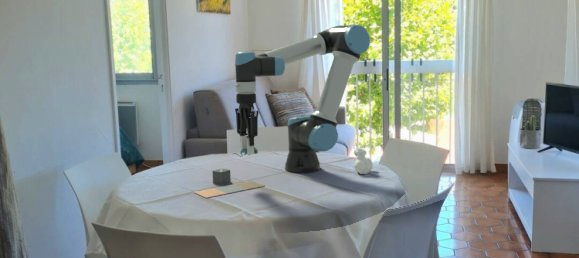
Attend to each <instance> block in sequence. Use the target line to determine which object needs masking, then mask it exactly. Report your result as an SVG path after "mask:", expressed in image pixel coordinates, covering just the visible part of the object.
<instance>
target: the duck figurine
mask: <svg viewBox="0 0 579 258" xmlns="http://www.w3.org/2000/svg"><path fill="white" fill-rule="evenodd" d="M353 153H354V154H353V155H355V157H357V158H356V160H355V161H354V171H355V172H357V173H359V174H360V175H367V174H369V173H371V172H372V169H373V162H372V159H371V158H370V157H366V155H367V151H366V150H365V148H361V147H360V148H355V149H354V151H353Z"/></svg>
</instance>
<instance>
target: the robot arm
mask: <svg viewBox="0 0 579 258" xmlns="http://www.w3.org/2000/svg"><path fill="white" fill-rule="evenodd" d="M370 45H371V37H370V34H369V32H368V30H367V28H365V27H364V26H363V25H359V24H348V25H336V26H333V27H330V28H327V29H324V30H322V31H320V32H317V33H314V34H313V36H312V37H309V38H306V39H303V40H300V41H297V42H294V43H290V44H288V45H284V46H282V47H278V48H275V49H273V50H270V51H269V50H268V51H265V52H263V53H260V54H256V53H255V52H254V51H239V52H236V53H235V56H234V58H235V63H234V66H235V87H236V88H235V90H236V91H235V92H236V94H235V95H236V98H235V99H236V100H235V101H236V104H238V105H239V106H238V107H237V108H235V109H234V111H235V120H236V133H237V134H238V135H239V136H240V151H241V150H242V149H247V154H246V155H248V156H250V155H254V147H255V137H257V136H258V135H259V133H258V132H259V131H258V129H259V128H258V127H259V126H258V124H259V122H258V116H259V110H256V109H255V107H254V104H255V103H257V94H256V92H257V82H256V81H257V78H259V77H280V76H282V75H284V73H285V70H286V66H287V65H290V64H293V63H296V62H298V61H301V60H302V61H303V60H304V59H305V60H306V59H307V58H311V57H314V56H317V55H319V56H324V55H327V54H332V55H333V60H332V62H331V66H330V69H329V71H328V74H327V76H326V80H325V82H324V86H323V88H322V92H321V95H320V98H319V101H318V103H317V107H316V110H315V111H314V112H312V113H311V114H310V115H309V116H307V115H305V116H296V117H295V116H294V117H290V118H288V119H287V120H288V121H287V132H288V133H287V134H288V135H287V136H288V137H287V138H288V153H287V157H286V161H285V164H284V165H285V167H284V169H285V171H287V172H291V173H312V172H317V171H319V170H320V169H321V165H320V160H319V157H318V155H317V152H322V153H323V152H327V151H329V150H331V149H333V148H334V147H335V145H336V144H337V142H338V138H339V133H338V130H337V126H338V121H337V119H336V117H337V113H338V111H339V108H340V105H341V103H342V100H343V97H344V93H345V90H346V87H347V84H348V82H349V79H350V77H351V73H352V71H353V70H352V69H353V67H354V64H356V63H358V62H359V61H360V57H361V55H362V54H364V53H365V52H367V51H368V49H369V48H370ZM243 153H244V152H242V154H243ZM244 154H245V153H244ZM249 154H250V155H249Z"/></svg>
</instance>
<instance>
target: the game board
mask: <svg viewBox="0 0 579 258" xmlns="http://www.w3.org/2000/svg"><path fill="white" fill-rule="evenodd" d="M265 186H266V185H264V184H261V183H258V182H256V181H253V180H248V181H244V182H238V183H233V184H228V185H223V186H216V187H213V188H208V189H203V190H196V191H194V192H193V194H196V195H198V196H200V197H202V198H205V199H210V198H213V197H218V196H223V195H224V196H225V195H229V194H234V193H235V194H236V193H239V192H244V191H249V190H252V189H259V188H263V187H265Z"/></svg>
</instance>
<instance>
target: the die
mask: <svg viewBox="0 0 579 258" xmlns="http://www.w3.org/2000/svg"><path fill="white" fill-rule="evenodd" d="M231 180H232V179H231V169H226V168H218V169H215V170H212V183H213V184H218V185H224V184H228V183H231Z"/></svg>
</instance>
